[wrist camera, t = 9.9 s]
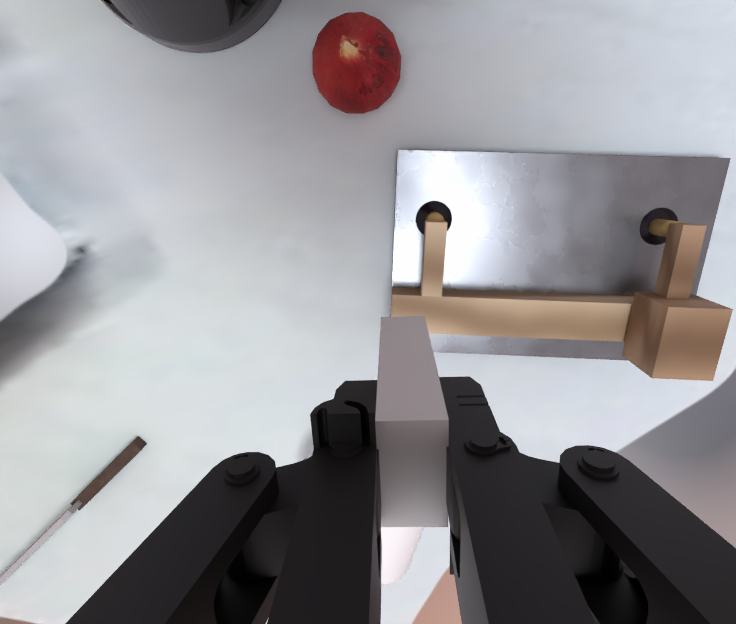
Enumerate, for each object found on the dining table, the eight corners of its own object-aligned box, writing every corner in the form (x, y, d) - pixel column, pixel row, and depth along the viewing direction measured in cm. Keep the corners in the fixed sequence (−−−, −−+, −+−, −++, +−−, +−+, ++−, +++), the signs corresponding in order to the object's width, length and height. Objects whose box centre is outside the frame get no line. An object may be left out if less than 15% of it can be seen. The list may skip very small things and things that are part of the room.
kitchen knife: (118, 456, 39) (-54, 627, 46) (128, 463, 40) (-45, 633, 46) (143, 430, 43) (-18, 591, 50) (151, 438, 44) (-10, 596, 50)
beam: (395, 210, 34) (395, 212, 32) (714, 220, 33) (740, 223, 31) (390, 322, 37) (390, 332, 34) (686, 334, 36) (707, 345, 33)
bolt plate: (397, 150, 34) (397, 149, 33) (718, 158, 33) (730, 158, 32) (389, 344, 38) (389, 350, 37) (670, 356, 37) (679, 362, 36)
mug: (438, 441, 41) (449, 501, 33) (408, 524, 44) (411, 597, 36) (314, 408, 41) (297, 461, 33) (292, 494, 44) (271, 561, 36)
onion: (401, 34, 32) (405, -13, 24) (397, 121, 33) (399, 103, 26) (321, 32, 32) (299, -14, 24) (321, 119, 33) (300, 101, 26)
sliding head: (631, 217, 33) (687, 226, 27) (686, 219, 33) (755, 228, 27) (606, 343, 36) (651, 377, 30) (656, 345, 36) (712, 380, 29)
